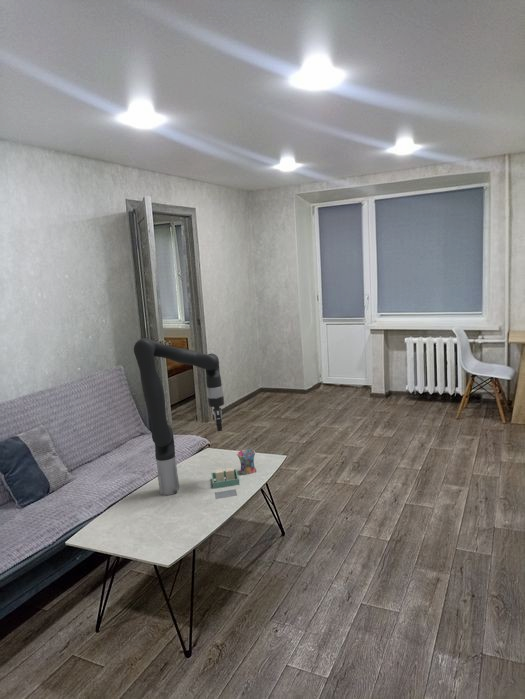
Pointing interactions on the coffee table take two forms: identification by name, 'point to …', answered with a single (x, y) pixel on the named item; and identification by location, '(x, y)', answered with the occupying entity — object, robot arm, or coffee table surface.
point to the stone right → (229, 473)
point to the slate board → (225, 494)
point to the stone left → (219, 475)
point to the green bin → (225, 483)
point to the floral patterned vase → (247, 461)
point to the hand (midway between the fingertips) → (219, 428)
